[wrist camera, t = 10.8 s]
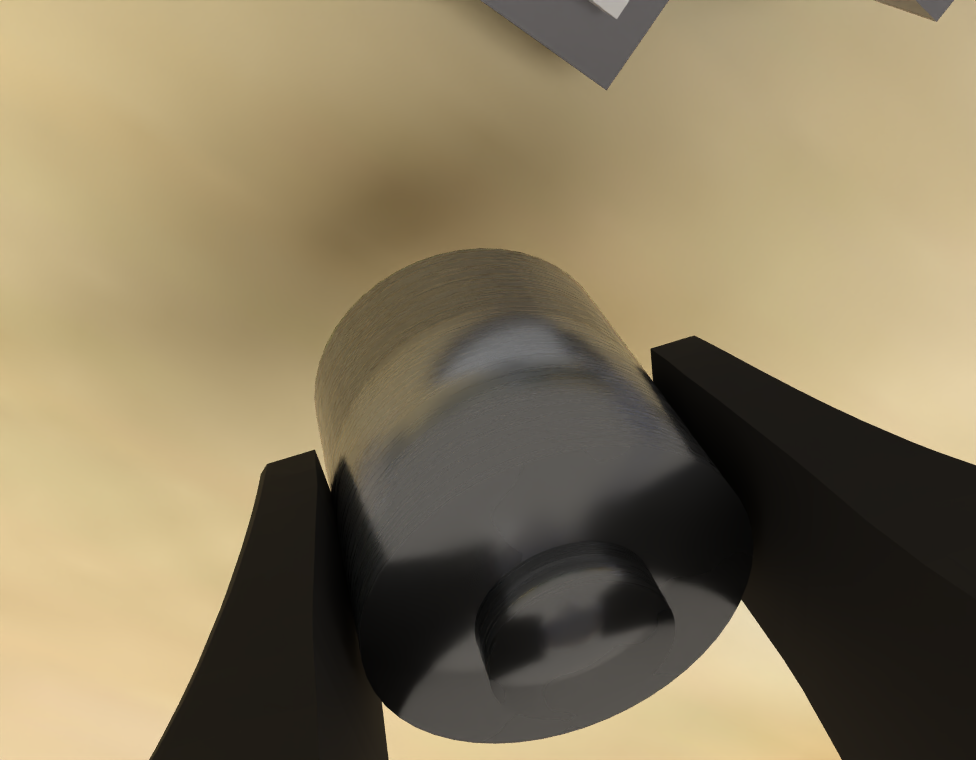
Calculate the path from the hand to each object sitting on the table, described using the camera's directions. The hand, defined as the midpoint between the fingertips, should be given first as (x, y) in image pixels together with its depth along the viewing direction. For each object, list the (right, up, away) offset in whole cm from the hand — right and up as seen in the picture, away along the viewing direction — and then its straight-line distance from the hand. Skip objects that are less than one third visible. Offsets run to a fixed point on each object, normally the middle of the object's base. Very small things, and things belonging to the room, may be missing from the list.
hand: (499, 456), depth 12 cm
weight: (0, +1, +1) cm, 2 cm away
